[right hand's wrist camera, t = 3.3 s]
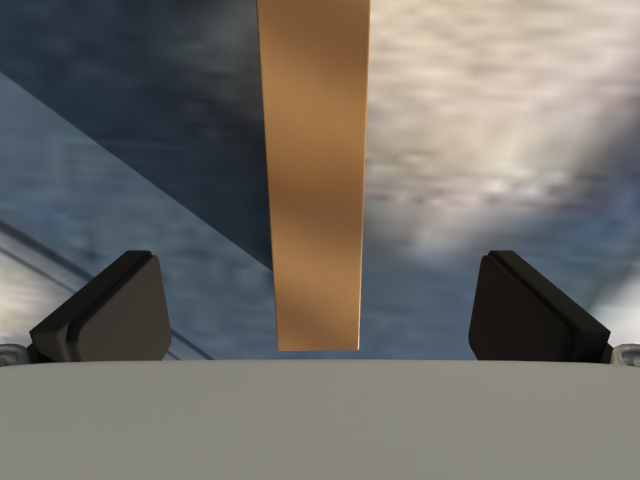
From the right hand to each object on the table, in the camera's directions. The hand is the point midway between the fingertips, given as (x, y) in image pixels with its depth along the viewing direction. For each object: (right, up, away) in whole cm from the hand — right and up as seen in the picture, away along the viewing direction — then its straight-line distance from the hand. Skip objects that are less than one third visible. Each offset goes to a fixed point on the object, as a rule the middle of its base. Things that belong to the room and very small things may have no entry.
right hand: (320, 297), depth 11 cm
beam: (0, +37, 0) cm, 37 cm away
